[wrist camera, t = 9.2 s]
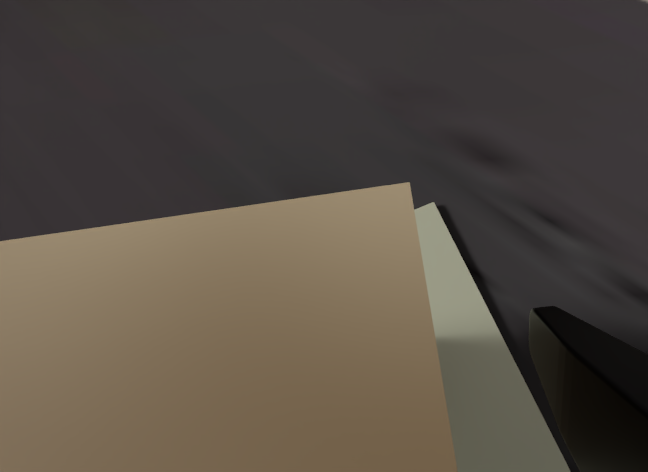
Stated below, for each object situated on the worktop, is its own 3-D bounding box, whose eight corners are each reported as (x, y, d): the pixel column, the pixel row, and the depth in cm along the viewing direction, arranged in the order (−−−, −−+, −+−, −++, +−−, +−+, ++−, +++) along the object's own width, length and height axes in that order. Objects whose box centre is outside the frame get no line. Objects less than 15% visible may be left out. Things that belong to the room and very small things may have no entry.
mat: (600, 536, 14) (605, 540, 13) (239, 672, 14) (235, 679, 14) (433, 206, 18) (433, 202, 18) (160, 315, 18) (155, 313, 18)
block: (420, 478, 15) (530, 913, 2) (287, 487, 15) (-167, 881, 3) (401, 339, 16) (409, 182, 4) (280, 351, 17) (-37, 246, 5)
